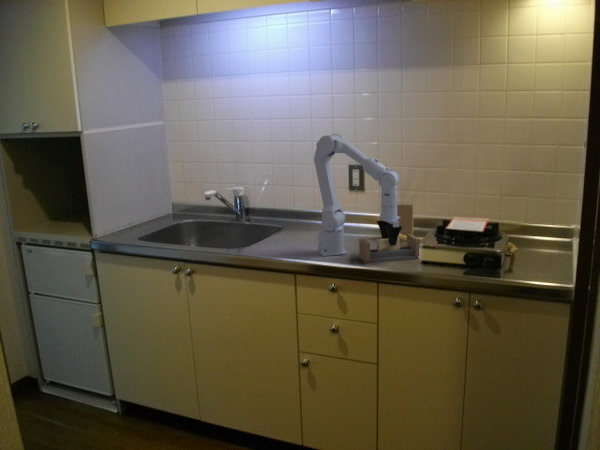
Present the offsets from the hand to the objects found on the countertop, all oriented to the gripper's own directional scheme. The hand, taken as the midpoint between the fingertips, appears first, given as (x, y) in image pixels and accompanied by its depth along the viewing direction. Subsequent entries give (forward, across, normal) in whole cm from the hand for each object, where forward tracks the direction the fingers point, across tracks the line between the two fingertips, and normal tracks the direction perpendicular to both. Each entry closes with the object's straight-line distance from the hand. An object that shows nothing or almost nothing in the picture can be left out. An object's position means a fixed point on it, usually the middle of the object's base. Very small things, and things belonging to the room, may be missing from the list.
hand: (389, 242), depth 205 cm
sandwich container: (+6, +28, -17) cm, 34 cm away
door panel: (+5, 0, 0) cm, 5 cm away
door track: (+6, 0, 0) cm, 6 cm away
